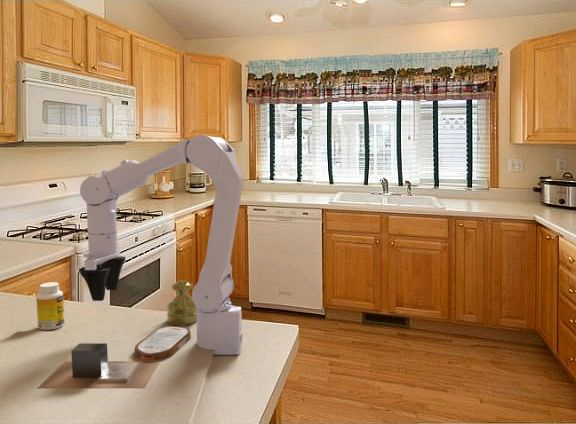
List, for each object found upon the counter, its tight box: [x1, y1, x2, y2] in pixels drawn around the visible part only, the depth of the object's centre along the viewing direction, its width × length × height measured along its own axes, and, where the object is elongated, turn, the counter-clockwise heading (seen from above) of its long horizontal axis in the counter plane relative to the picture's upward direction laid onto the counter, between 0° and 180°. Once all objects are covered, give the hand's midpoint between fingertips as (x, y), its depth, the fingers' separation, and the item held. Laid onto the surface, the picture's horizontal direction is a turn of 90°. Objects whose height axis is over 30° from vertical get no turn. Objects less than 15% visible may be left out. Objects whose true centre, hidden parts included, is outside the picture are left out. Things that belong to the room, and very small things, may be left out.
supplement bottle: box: [35, 281, 65, 331], centre depth 107 cm, size 6×6×10 cm
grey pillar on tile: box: [70, 342, 138, 382], centre depth 81 cm, size 10×6×5 cm, turn 91°
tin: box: [134, 325, 192, 361], centre depth 94 cm, size 15×3×8 cm
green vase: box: [166, 279, 197, 326], centre depth 111 cm, size 7×7×10 cm
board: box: [37, 360, 161, 389], centre depth 82 cm, size 18×10×1 cm, turn 91°
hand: (105, 294), depth 98 cm, fingers open, 7 cm apart
